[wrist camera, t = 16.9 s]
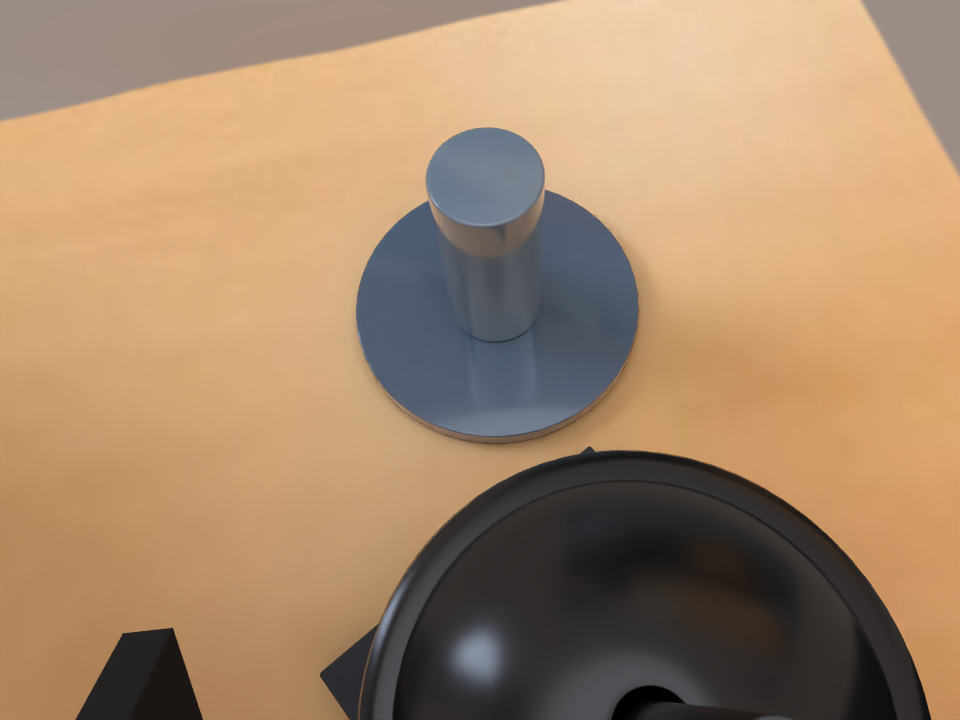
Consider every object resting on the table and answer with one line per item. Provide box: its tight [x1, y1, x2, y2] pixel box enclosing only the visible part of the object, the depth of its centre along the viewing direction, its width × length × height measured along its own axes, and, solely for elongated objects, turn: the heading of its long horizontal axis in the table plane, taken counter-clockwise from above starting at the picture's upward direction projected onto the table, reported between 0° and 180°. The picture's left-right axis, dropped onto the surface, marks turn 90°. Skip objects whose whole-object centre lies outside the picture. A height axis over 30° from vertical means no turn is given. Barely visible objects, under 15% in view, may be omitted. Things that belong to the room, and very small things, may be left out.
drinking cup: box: [358, 450, 931, 720], centre depth 14 cm, size 8×8×20 cm
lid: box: [356, 128, 639, 443], centre depth 25 cm, size 10×10×8 cm
